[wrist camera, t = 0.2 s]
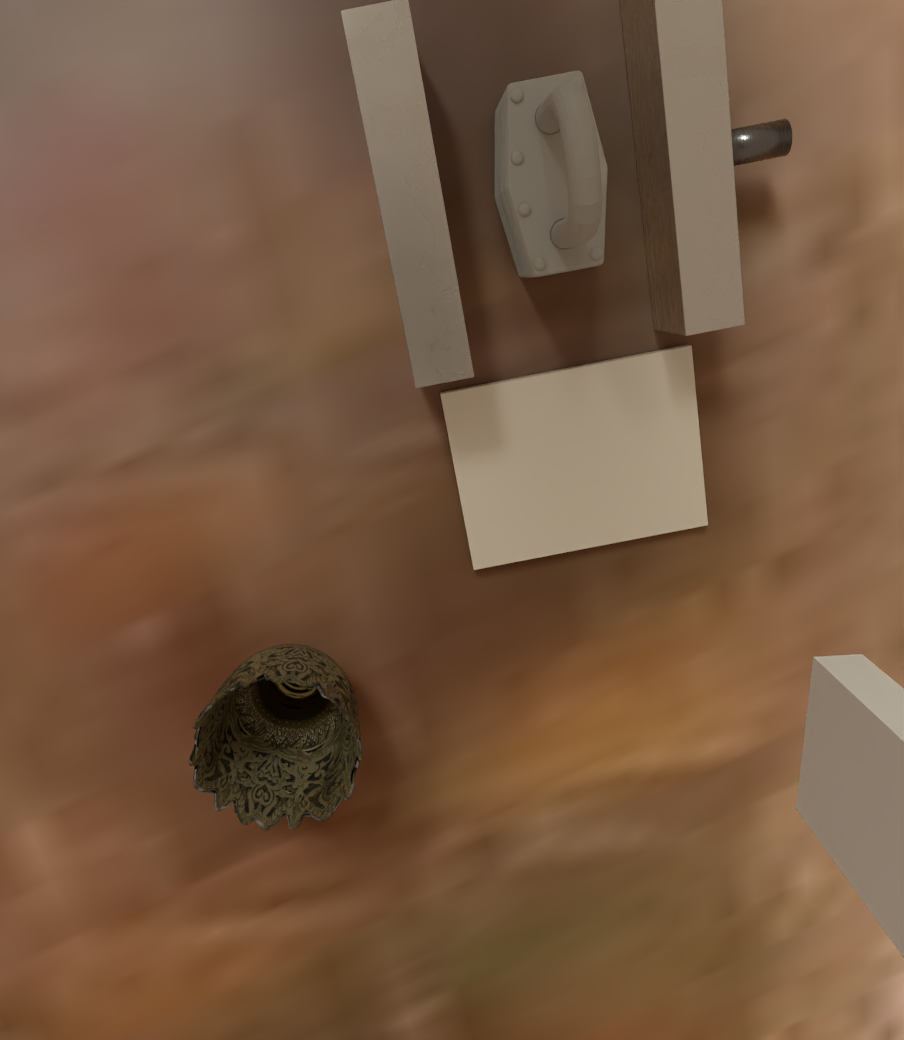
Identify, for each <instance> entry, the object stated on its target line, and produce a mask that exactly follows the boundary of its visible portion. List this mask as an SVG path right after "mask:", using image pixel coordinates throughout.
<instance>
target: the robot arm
mask: <svg viewBox="0 0 904 1040" xmlns="http://www.w3.org/2000/svg"><path fill="white" fill-rule="evenodd" d="M796 810H797V811H798V813H799V814H800V815H801V817H802V818H803V820H804V821H805V822H806V824H807V825H808V826H809V828H810V829H811V831H812V832H813V833H814V835H815V836H816V837H817V839H818V840H819V842H820V843H821V844H822V846H823V847H824V848H825V850H826V851H827V853H828V854H829V855H830V857H831V858H832V859H833V861H834V862H835V864H836V865H837V866H838V868H839V869H840V870H841V872H842V873H843V875H844V876H845V877H846V879H847V880H848V881H849V883H850V884H851V886H852V887H853V888H854V890H855V891H856V892H857V894H858V895H859V897H860V898H861V899H862V901H863V902H864V903H865V905H866V906H867V908H868V909H869V910H870V912H871V913H872V914H873V916H874V917H875V919H876V920H877V921H878V923H879V924H880V925H881V927H882V928H883V930H884V931H885V932H886V934H887V935H888V936H889V938H890V939H891V941H892V942H893V943H894V945H895V946H896V947H897V949H898V950H899V952H900V953H901V954H902V956H903V957H904V688H902V687H901V686H900V685H899V684H897V683H896V682H895V681H894V680H893V679H891V678H890V677H889V676H888V675H887V674H885V673H884V672H883V671H882V670H881V669H879V668H878V667H877V666H876V665H875V664H873V663H872V662H871V661H870V660H869V659H867V658H866V657H865V656H864V655H863V654H857V655H839V656H820V657H813V664H812V673H811V682H810V690H809V699H808V708H807V717H806V726H805V735H804V744H803V752H802V761H801V770H800V779H799V788H798V797H797V806H796Z"/></svg>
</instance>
